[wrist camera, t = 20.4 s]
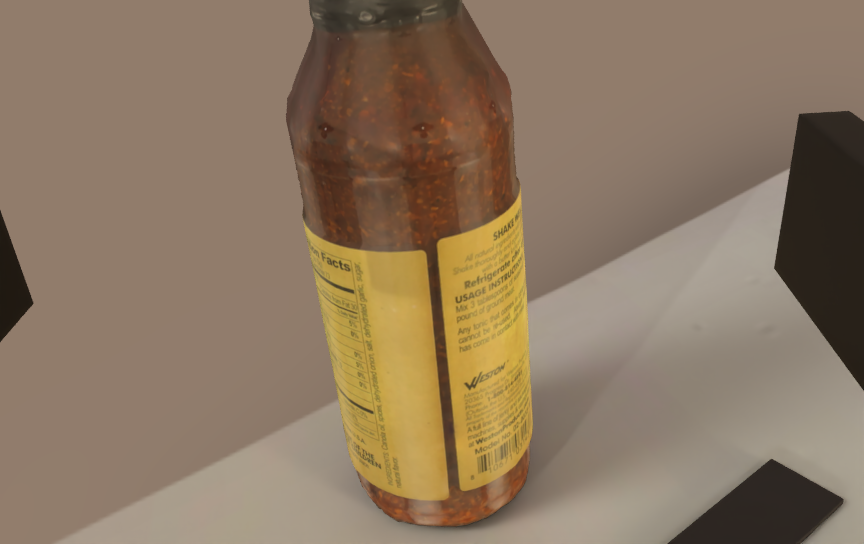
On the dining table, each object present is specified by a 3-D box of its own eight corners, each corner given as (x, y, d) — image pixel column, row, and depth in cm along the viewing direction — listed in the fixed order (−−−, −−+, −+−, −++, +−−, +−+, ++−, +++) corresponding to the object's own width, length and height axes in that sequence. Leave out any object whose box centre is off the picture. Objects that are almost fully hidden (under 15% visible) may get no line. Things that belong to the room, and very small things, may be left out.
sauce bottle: (512, 404, 31) (502, -196, 21) (553, 526, 25) (565, -206, 16) (341, 425, 30) (251, -179, 21) (345, 555, 25) (226, -182, 15)
